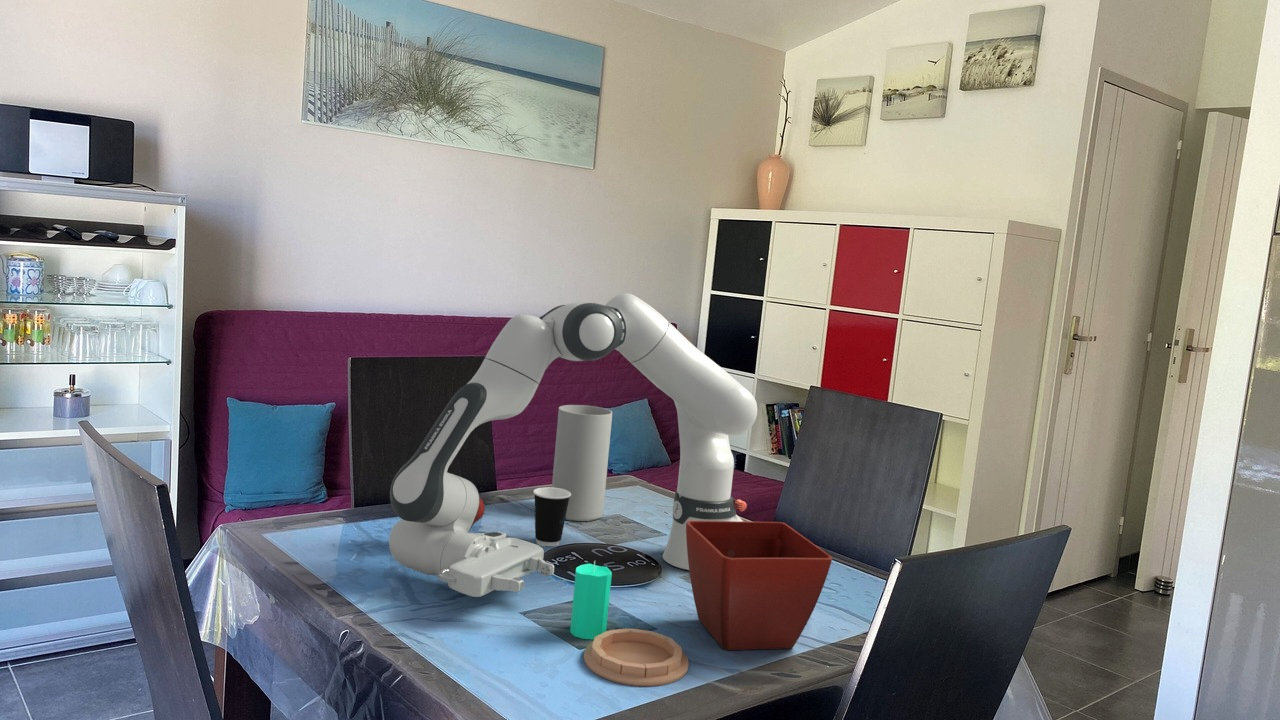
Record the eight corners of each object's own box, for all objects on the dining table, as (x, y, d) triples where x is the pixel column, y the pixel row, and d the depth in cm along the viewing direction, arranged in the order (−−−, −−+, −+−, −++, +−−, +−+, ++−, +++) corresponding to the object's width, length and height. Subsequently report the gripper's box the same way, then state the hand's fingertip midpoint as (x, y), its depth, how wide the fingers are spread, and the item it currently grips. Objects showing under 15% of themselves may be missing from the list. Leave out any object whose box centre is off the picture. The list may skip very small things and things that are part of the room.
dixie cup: (572, 548, 192) (577, 496, 190) (536, 550, 188) (540, 497, 187) (558, 536, 199) (563, 486, 197) (523, 538, 195) (528, 487, 194)
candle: (601, 642, 147) (608, 569, 145) (565, 635, 148) (572, 563, 146) (610, 628, 152) (617, 558, 151) (575, 621, 154) (581, 552, 152)
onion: (470, 531, 196) (473, 494, 195) (450, 525, 199) (453, 489, 198) (488, 526, 201) (491, 490, 200) (468, 519, 204) (471, 484, 203)
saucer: (658, 635, 151) (660, 621, 151) (707, 679, 137) (708, 664, 137) (568, 644, 144) (569, 630, 144) (609, 692, 130) (610, 676, 130)
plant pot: (823, 657, 149) (835, 557, 147) (713, 661, 143) (724, 557, 142) (773, 611, 167) (783, 521, 165) (674, 613, 162) (684, 520, 160)
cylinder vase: (601, 524, 210) (611, 417, 207) (546, 519, 210) (556, 411, 207) (604, 509, 223) (613, 408, 220) (552, 504, 223) (561, 403, 220)
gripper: (432, 557, 150) (502, 577, 144) (504, 529, 169) (569, 545, 163) (430, 594, 151) (499, 615, 145) (502, 562, 169) (566, 580, 163)
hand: (537, 578), depth 154 cm, fingers open, 8 cm apart
